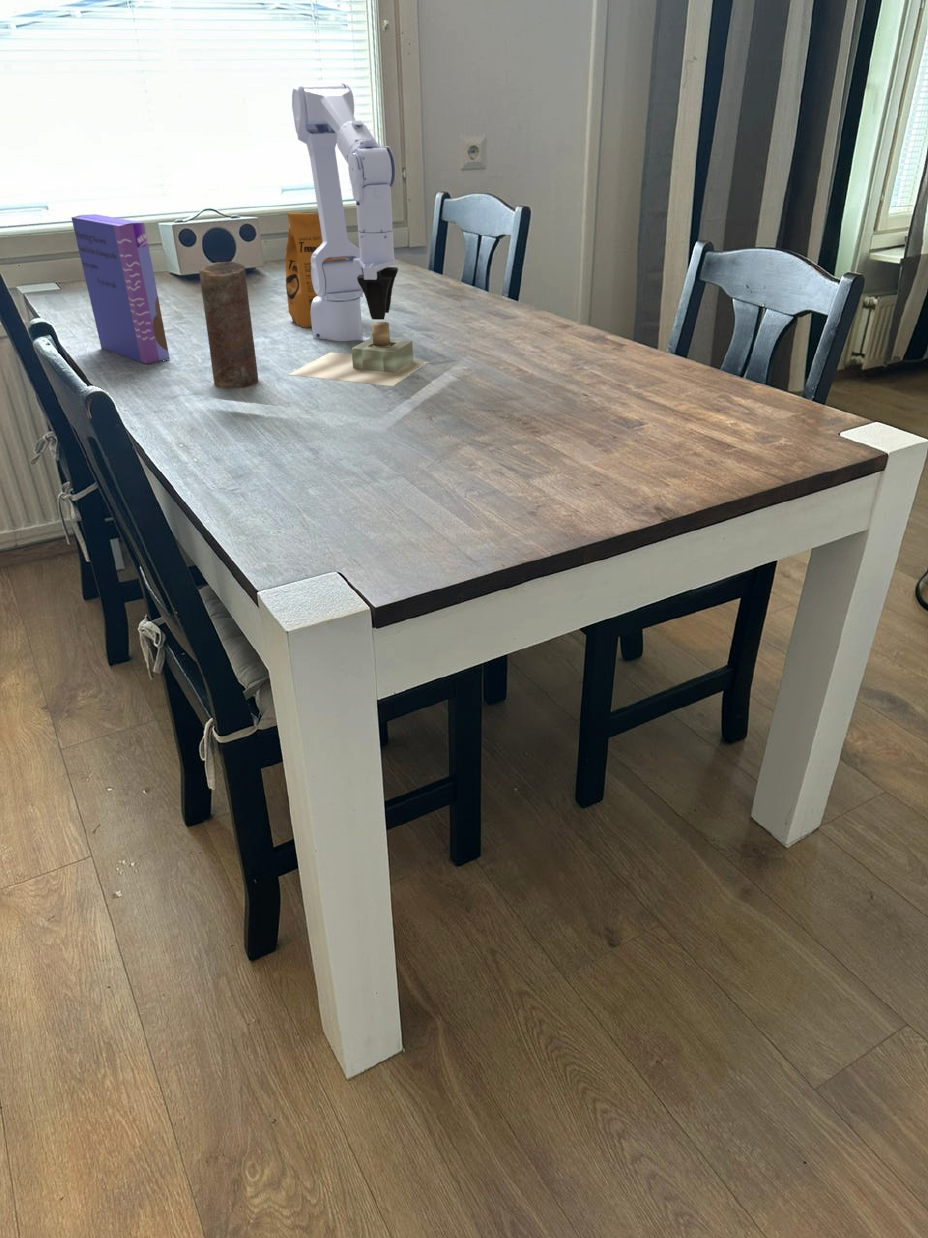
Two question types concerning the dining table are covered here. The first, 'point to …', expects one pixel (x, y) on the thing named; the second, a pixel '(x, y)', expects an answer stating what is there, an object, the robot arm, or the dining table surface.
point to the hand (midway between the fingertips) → (380, 315)
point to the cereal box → (121, 287)
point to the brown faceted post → (229, 325)
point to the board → (352, 375)
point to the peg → (381, 335)
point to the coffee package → (302, 264)
